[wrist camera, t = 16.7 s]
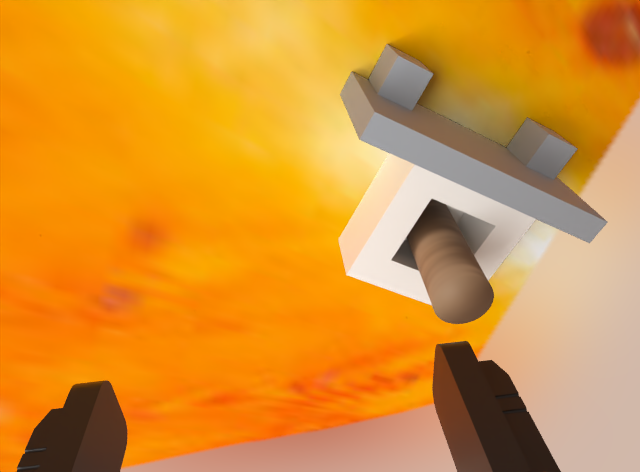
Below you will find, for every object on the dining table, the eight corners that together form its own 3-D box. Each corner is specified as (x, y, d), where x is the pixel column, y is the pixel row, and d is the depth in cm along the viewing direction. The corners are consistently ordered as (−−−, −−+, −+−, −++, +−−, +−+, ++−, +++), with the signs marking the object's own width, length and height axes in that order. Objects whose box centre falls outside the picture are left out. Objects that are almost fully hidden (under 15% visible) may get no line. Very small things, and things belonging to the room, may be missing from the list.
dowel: (391, 224, 48) (421, 310, 38) (419, 187, 46) (459, 267, 36) (429, 243, 49) (467, 331, 39) (458, 208, 47) (506, 291, 37)
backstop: (340, 94, 42) (359, 139, 33) (370, 35, 40) (399, 67, 31) (531, 185, 48) (589, 243, 39) (566, 138, 46) (636, 188, 37)
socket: (337, 237, 49) (346, 274, 44) (402, 126, 44) (420, 154, 39) (441, 277, 53) (460, 315, 48) (513, 179, 48) (542, 210, 43)
